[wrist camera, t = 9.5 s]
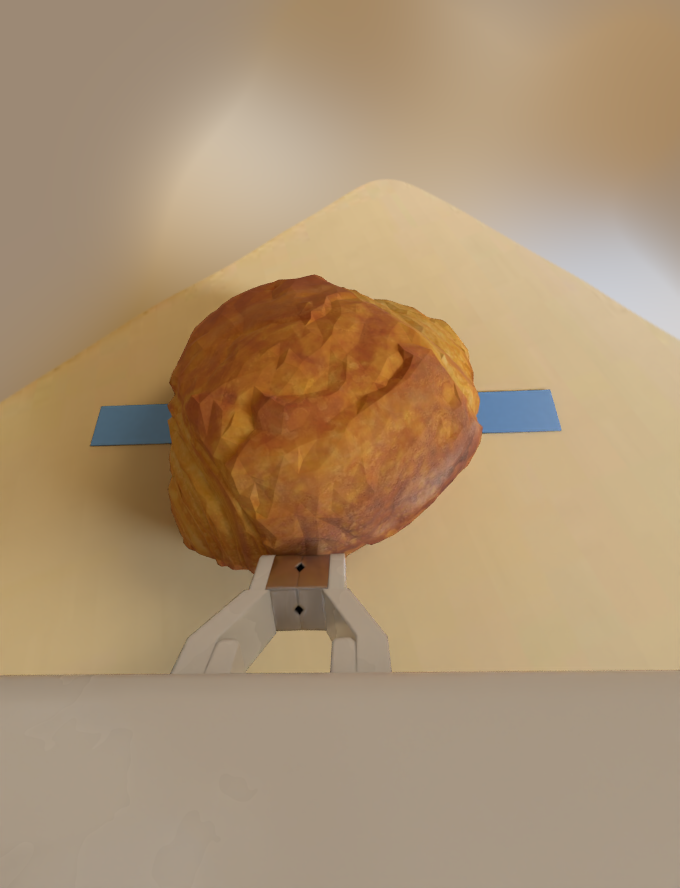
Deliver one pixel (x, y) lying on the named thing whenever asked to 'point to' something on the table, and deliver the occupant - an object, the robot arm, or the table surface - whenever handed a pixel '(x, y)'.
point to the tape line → (493, 414)
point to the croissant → (314, 422)
